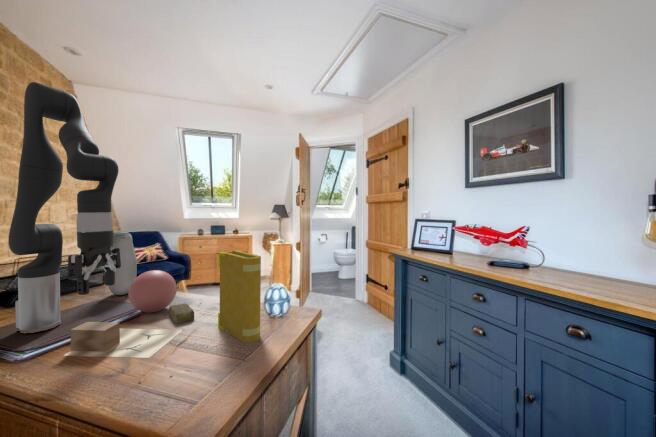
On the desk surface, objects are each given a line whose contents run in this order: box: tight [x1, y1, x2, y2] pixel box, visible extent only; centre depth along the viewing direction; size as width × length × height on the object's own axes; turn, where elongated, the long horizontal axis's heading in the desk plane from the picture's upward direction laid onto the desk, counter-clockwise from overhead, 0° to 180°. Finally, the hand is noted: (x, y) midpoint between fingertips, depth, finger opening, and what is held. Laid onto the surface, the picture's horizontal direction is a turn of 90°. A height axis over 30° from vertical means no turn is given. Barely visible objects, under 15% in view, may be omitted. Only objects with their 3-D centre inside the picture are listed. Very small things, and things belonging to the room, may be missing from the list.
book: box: [217, 249, 262, 343], centre depth 89 cm, size 17×7×25 cm, turn 47°
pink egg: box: [127, 269, 178, 313], centre depth 107 cm, size 15×20×15 cm
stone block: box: [168, 303, 195, 325], centre depth 97 cm, size 6×12×5 cm, turn 42°
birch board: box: [63, 328, 184, 359], centre depth 79 cm, size 22×16×2 cm
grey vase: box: [108, 230, 138, 296], centre depth 124 cm, size 10×10×28 cm
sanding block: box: [69, 321, 121, 353], centre depth 75 cm, size 9×5×6 cm, turn 89°
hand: (97, 289), depth 75 cm, fingers open, 8 cm apart
